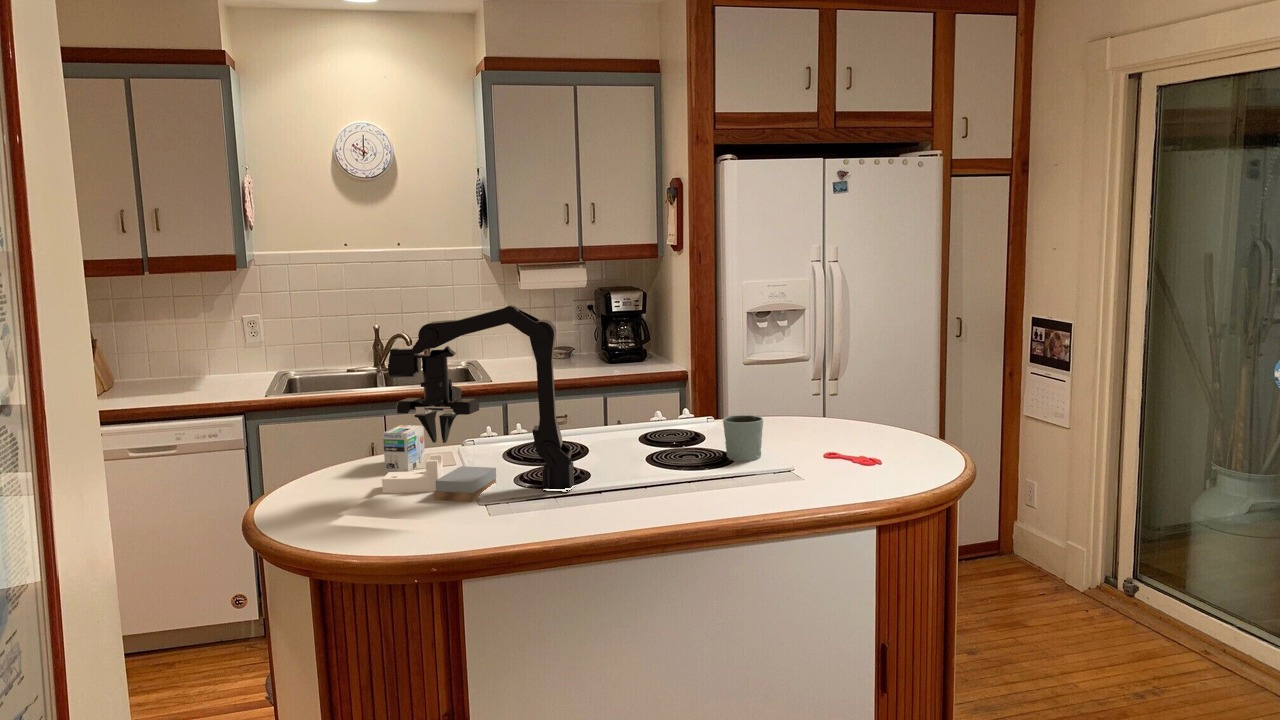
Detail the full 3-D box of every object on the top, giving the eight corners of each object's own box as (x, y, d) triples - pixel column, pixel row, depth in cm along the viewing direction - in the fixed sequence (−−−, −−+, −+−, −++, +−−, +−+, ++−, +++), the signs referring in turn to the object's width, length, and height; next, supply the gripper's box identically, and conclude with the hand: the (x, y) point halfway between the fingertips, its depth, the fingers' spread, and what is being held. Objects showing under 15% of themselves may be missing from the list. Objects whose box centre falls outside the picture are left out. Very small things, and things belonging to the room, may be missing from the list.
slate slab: (496, 477, 233) (496, 467, 233) (473, 493, 219) (472, 482, 219) (461, 476, 235) (460, 466, 235) (436, 491, 222) (435, 480, 221)
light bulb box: (408, 475, 246) (406, 433, 244) (384, 474, 247) (381, 432, 246) (426, 465, 256) (424, 424, 255) (402, 464, 257) (400, 424, 256)
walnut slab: (496, 488, 233) (495, 478, 232) (470, 504, 219) (470, 493, 219) (461, 486, 235) (461, 476, 235) (434, 502, 222) (434, 491, 221)
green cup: (769, 462, 251) (769, 416, 249) (752, 471, 242) (752, 423, 241) (734, 458, 256) (734, 413, 255) (716, 466, 248) (716, 420, 246)
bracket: (443, 485, 236) (442, 454, 235) (438, 492, 229) (436, 461, 228) (389, 486, 236) (387, 455, 235) (382, 494, 229) (380, 462, 228)
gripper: (487, 371, 231) (491, 436, 233) (416, 371, 236) (420, 434, 238) (466, 378, 220) (470, 446, 222) (392, 378, 225) (397, 444, 227)
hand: (439, 442), depth 228 cm, fingers closed
